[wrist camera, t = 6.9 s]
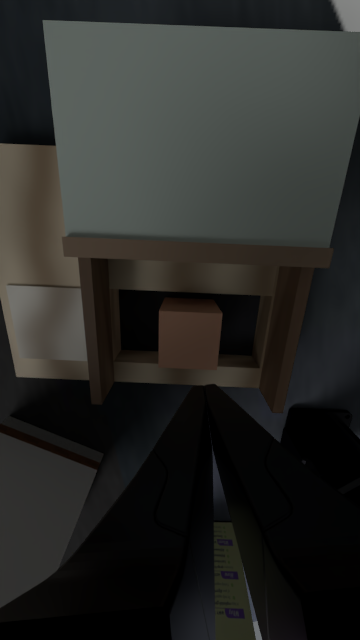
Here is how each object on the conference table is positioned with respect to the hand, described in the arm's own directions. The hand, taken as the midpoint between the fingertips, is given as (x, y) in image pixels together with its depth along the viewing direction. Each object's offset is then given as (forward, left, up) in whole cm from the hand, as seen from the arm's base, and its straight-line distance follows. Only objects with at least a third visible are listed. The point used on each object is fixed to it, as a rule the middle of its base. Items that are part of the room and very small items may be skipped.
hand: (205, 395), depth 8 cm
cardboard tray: (+4, -3, -13) cm, 14 cm away
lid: (0, -9, -7) cm, 12 cm away
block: (0, +1, -13) cm, 13 cm away
